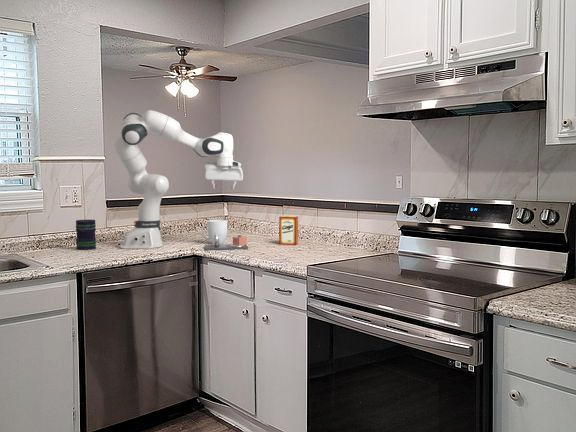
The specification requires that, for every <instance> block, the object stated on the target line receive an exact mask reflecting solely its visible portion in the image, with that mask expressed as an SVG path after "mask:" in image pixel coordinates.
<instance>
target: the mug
mask: <svg viewBox="0 0 576 432" xmlns="http://www.w3.org/2000/svg"><path fill="white" fill-rule="evenodd" d="M205 228H207V235H208V237H206V236H205V235H204V229H205ZM200 232H201V233H200V234H201V237H202V238H203V239H204V240H206V241H209V242H210V243H211V245H213V243H214V235H219V243H221V244H220V245H224V243H225V241H226V239H227V236H228V220H227V219H210V220H207V224H204V225H203V226H202V228H201V229H200Z"/></svg>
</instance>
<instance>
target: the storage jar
mask: <svg viewBox="0 0 576 432" xmlns="http://www.w3.org/2000/svg"><path fill="white" fill-rule="evenodd" d="M96 230H97V229H96V220H95V219H77V220H75V232H76V240H75V241H76V242H75V243H76V251H91V250H93V251H94V250H96V249H97V247H96V246H97V238H96Z"/></svg>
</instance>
